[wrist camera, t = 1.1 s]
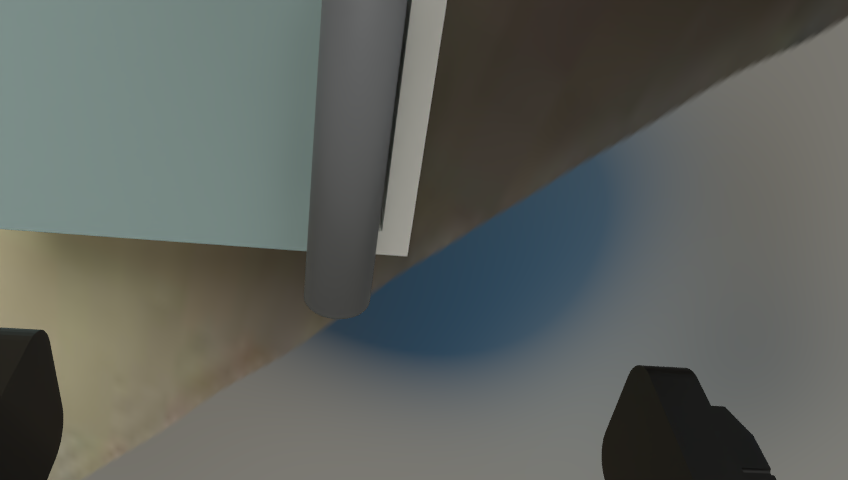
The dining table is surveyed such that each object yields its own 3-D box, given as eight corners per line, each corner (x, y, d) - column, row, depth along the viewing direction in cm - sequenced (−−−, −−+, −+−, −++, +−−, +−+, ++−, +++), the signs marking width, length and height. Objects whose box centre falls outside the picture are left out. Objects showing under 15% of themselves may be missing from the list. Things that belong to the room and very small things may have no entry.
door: (-229, -377, 16) (-500, -410, 11) (426, -269, 18) (450, -256, 13) (-66, 213, 25) (-177, 346, 20) (366, 245, 26) (366, 374, 21)
